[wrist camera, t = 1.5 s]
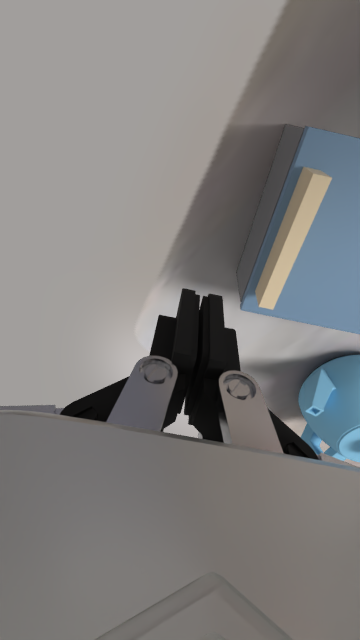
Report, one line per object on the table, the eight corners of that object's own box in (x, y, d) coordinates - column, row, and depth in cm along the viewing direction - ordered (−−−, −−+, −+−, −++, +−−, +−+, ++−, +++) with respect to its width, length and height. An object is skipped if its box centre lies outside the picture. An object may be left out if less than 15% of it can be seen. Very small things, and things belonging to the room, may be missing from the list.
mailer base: (489, 170, 26) (554, 186, 21) (391, 305, 34) (421, 338, 29) (285, 124, 25) (303, 129, 20) (236, 272, 33) (240, 301, 28)
